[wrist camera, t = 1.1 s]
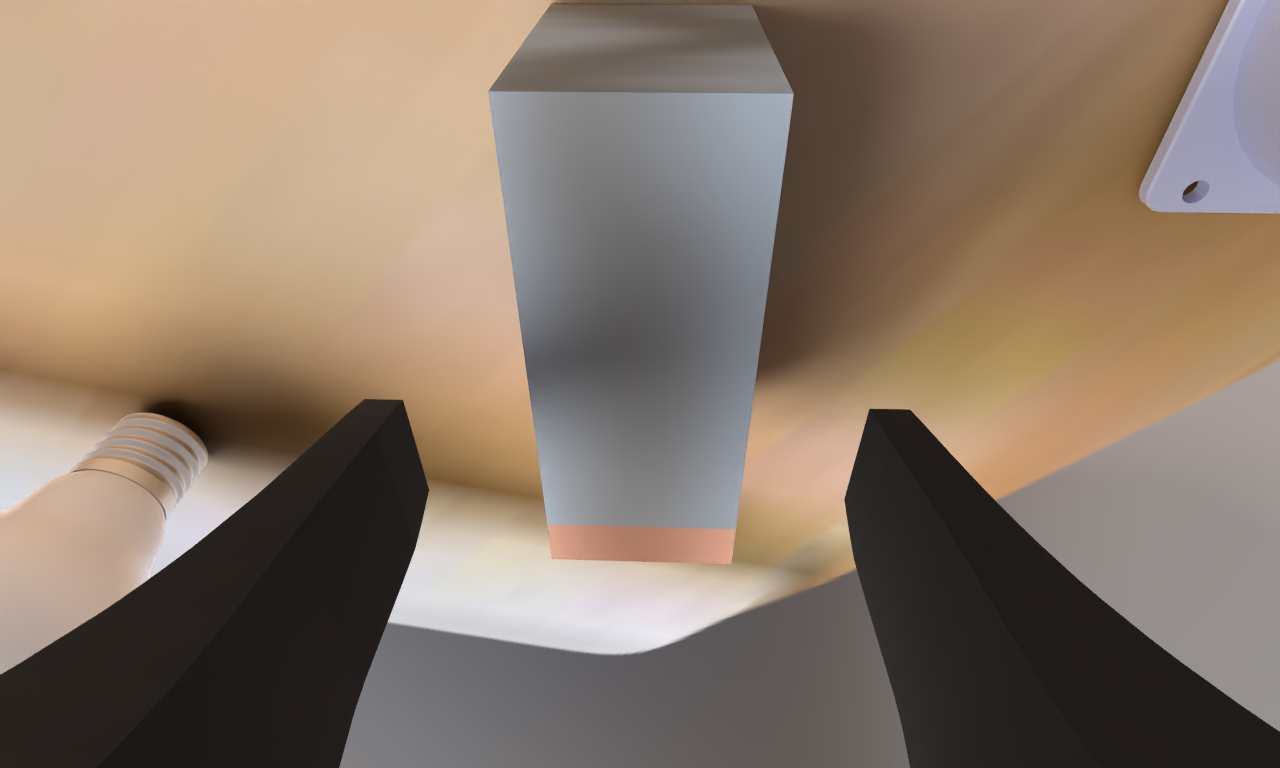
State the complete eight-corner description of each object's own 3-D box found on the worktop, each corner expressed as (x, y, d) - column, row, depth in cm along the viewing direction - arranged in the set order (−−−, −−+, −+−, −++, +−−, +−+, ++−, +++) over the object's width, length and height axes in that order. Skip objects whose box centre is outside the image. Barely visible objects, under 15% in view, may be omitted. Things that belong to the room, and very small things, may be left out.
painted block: (751, 4, 13) (793, 93, 9) (717, 392, 20) (731, 564, 15) (551, 3, 14) (488, 91, 9) (580, 389, 20) (552, 558, 15)
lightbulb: (204, 520, 24) (-49, 891, 16) (24, 406, 21) (-417, 795, 13) (320, 453, 22) (95, 847, 13) (136, 313, 19) (-315, 715, 10)
